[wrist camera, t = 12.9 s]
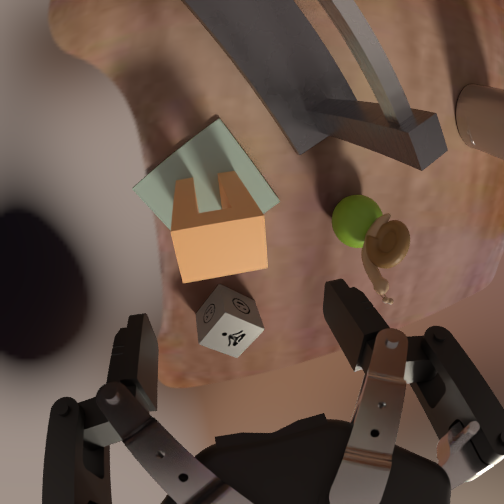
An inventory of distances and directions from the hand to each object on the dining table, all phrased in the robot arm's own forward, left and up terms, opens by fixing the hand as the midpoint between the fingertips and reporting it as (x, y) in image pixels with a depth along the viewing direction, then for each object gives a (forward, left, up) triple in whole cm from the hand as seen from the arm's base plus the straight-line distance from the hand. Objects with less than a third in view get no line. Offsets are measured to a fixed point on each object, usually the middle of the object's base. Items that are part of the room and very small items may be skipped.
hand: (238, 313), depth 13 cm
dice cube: (+7, +12, -17) cm, 22 cm away
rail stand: (-13, -11, -17) cm, 24 cm away
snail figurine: (-10, +11, -17) cm, 23 cm away
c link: (0, 0, -17) cm, 17 cm away
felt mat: (0, 0, -17) cm, 17 cm away
